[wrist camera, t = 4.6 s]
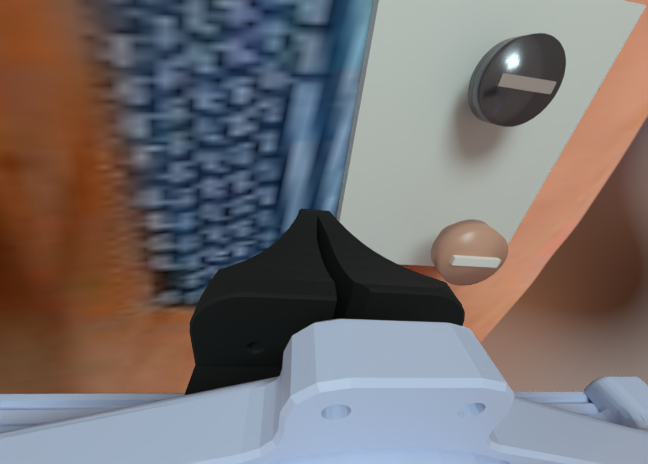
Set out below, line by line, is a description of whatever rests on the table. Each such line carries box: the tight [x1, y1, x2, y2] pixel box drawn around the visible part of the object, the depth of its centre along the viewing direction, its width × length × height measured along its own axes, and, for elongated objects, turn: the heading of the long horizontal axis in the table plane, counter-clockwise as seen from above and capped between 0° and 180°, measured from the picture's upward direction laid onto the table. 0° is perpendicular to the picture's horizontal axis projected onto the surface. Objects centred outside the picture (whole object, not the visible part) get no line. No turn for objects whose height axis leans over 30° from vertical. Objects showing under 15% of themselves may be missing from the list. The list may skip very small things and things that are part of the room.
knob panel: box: [336, 0, 647, 266], centre depth 20 cm, size 20×16×2 cm
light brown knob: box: [431, 219, 508, 285], centre depth 18 cm, size 4×4×3 cm
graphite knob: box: [468, 33, 566, 127], centre depth 15 cm, size 4×4×3 cm
